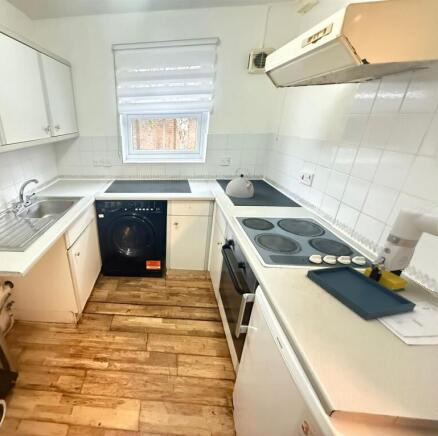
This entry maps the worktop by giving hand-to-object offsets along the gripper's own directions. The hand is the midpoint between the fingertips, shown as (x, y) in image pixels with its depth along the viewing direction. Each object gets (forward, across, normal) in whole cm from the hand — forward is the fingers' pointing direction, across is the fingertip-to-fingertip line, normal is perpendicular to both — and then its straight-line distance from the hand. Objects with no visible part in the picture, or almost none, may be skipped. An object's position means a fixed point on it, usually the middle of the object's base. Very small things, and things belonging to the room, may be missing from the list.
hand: (383, 278), depth 93 cm
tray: (+2, -16, -2) cm, 16 cm away
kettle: (+3, +11, +119) cm, 119 cm away
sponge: (+2, 0, 0) cm, 2 cm away
